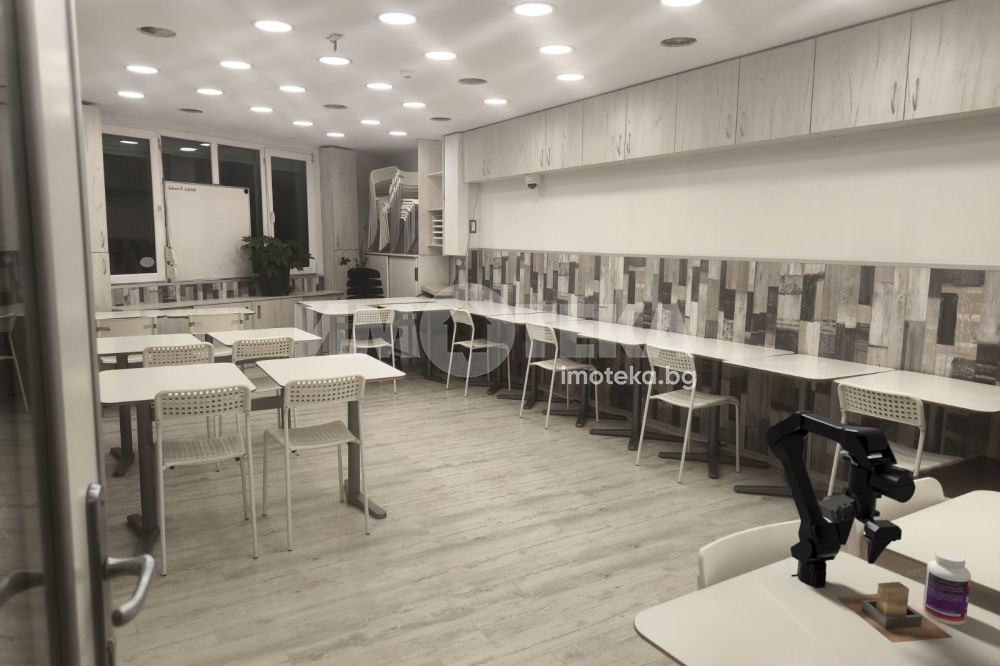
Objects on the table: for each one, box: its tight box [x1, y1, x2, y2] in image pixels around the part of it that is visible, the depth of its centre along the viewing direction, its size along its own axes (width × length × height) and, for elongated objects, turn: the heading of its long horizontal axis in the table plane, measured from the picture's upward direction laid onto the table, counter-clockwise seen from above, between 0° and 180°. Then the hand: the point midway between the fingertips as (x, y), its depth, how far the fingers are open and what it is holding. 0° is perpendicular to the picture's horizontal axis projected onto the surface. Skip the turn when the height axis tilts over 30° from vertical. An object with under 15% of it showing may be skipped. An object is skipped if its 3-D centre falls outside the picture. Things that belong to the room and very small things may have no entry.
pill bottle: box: [922, 549, 972, 626], centre depth 150 cm, size 8×8×14 cm
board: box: [836, 593, 953, 643], centre depth 150 cm, size 18×14×1 cm
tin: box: [861, 600, 922, 630], centre depth 148 cm, size 7×8×2 cm
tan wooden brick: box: [876, 581, 910, 617], centre depth 148 cm, size 3×5×7 cm, turn 100°
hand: (856, 553), depth 152 cm, fingers open, 9 cm apart
